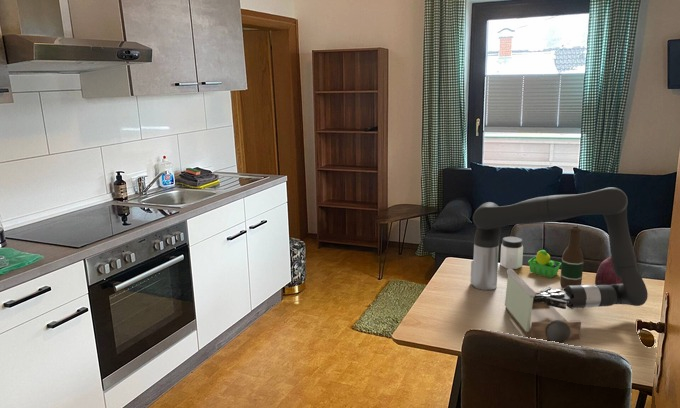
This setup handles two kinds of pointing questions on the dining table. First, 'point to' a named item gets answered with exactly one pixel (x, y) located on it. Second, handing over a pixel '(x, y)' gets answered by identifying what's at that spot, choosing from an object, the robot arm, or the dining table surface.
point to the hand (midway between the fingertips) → (530, 298)
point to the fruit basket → (544, 265)
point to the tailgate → (519, 299)
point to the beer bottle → (572, 261)
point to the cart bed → (550, 324)
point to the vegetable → (607, 274)
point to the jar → (511, 252)
